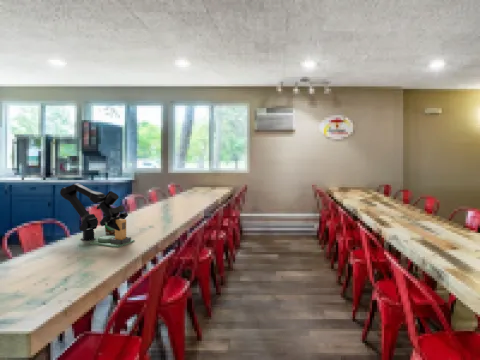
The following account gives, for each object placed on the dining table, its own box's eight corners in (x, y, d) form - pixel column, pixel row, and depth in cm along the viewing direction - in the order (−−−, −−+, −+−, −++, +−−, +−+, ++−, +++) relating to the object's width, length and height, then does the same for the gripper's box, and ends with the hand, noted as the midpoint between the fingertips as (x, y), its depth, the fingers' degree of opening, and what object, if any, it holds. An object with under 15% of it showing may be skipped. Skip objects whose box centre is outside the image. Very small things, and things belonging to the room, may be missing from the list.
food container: (108, 236, 209) (108, 221, 208) (103, 234, 213) (103, 219, 212) (125, 232, 219) (125, 218, 218) (120, 231, 223) (120, 217, 222)
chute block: (114, 240, 190) (114, 220, 189) (120, 238, 194) (120, 218, 193) (121, 241, 188) (121, 220, 187) (126, 239, 193) (126, 219, 192)
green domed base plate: (90, 243, 190) (90, 238, 189) (108, 238, 204) (108, 232, 203) (117, 247, 183) (117, 241, 183) (134, 241, 197) (134, 236, 197)
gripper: (103, 203, 182) (119, 224, 179) (125, 199, 200) (140, 218, 197) (93, 215, 185) (108, 236, 182) (115, 211, 203) (129, 229, 200)
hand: (122, 229), depth 190 cm, fingers closed on chute block, 4 cm apart
